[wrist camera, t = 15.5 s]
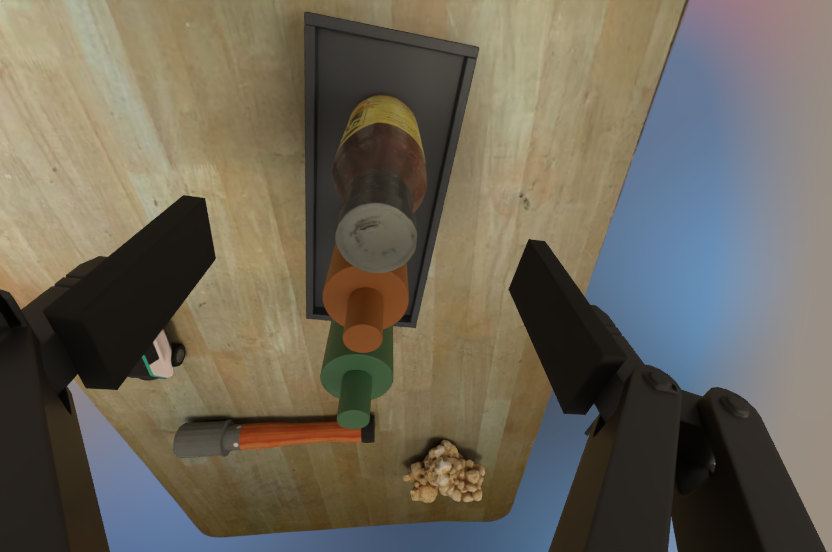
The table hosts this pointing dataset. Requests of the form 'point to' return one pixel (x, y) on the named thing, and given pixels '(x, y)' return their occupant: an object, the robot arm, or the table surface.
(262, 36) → the table surface
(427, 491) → the mineral formation
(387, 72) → the tray
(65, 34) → the table surface
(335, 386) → the green bottle
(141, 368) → the toy car
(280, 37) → the table surface
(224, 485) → the table surface
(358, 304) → the amber bottle
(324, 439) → the stick grenade
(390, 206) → the sauce bottle
